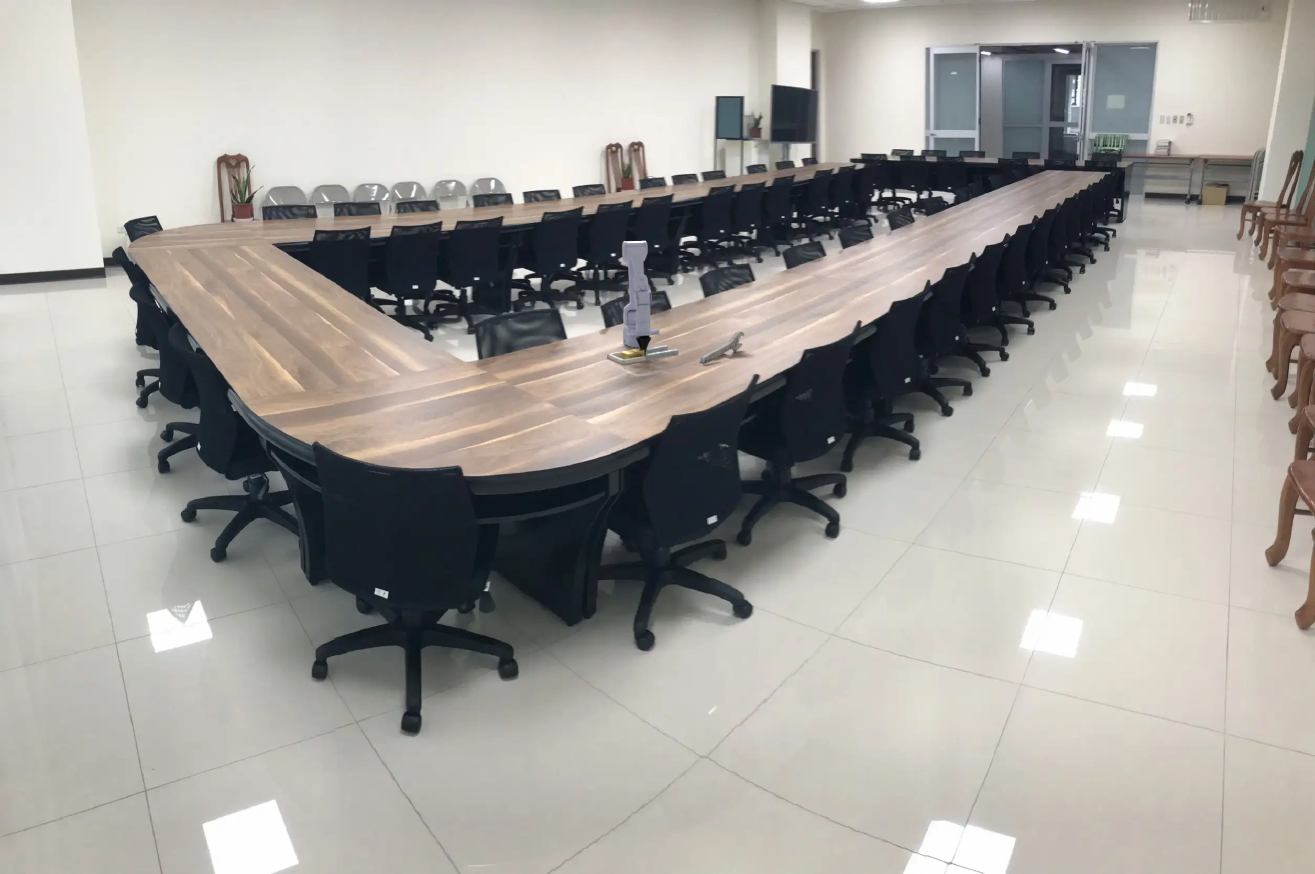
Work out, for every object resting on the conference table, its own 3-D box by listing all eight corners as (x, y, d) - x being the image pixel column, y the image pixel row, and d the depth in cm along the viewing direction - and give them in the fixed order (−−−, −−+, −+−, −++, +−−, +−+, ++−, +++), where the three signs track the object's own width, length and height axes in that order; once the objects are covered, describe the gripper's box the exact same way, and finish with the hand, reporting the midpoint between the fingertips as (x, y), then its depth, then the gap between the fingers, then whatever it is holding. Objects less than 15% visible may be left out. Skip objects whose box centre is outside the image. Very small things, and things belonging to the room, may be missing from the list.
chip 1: (622, 359, 364) (622, 352, 363) (630, 358, 366) (630, 350, 365) (627, 361, 361) (627, 354, 360) (635, 360, 363) (635, 352, 362)
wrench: (700, 370, 361) (741, 347, 382) (704, 371, 360) (745, 348, 381) (699, 351, 358) (740, 329, 379) (703, 352, 357) (744, 329, 378)
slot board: (629, 356, 370) (629, 350, 370) (664, 350, 379) (664, 344, 378) (645, 362, 361) (645, 356, 360) (680, 356, 370) (680, 350, 369)
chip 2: (630, 356, 366) (630, 349, 365) (639, 355, 368) (638, 347, 367) (636, 359, 363) (635, 351, 362) (644, 357, 365) (644, 350, 364)
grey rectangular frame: (607, 360, 365) (607, 354, 364) (629, 356, 370) (629, 350, 370) (622, 366, 356) (622, 360, 355) (645, 362, 361) (645, 356, 360)
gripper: (633, 325, 355) (633, 358, 360) (663, 320, 362) (663, 353, 367) (623, 321, 360) (623, 355, 365) (654, 317, 368) (654, 349, 373)
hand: (643, 354), depth 367 cm, fingers closed
